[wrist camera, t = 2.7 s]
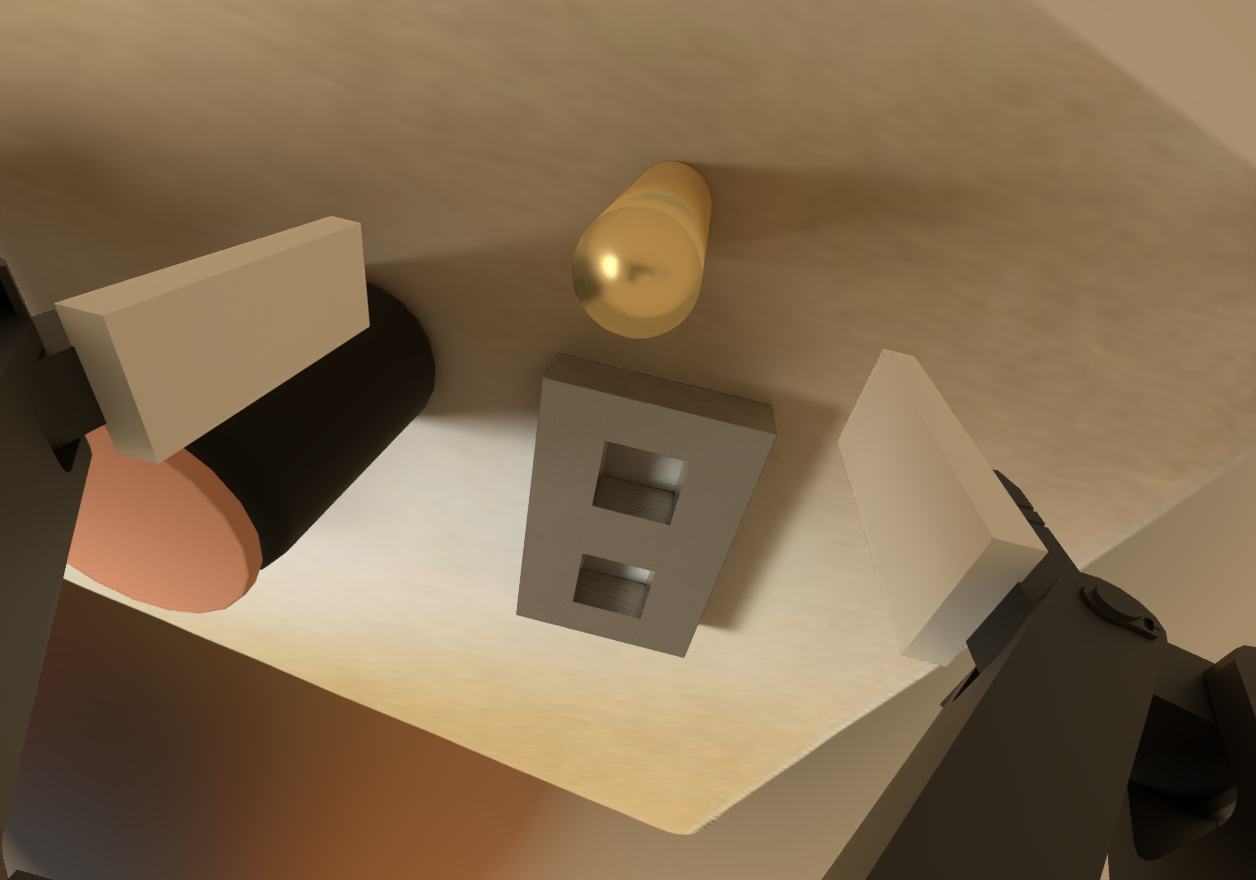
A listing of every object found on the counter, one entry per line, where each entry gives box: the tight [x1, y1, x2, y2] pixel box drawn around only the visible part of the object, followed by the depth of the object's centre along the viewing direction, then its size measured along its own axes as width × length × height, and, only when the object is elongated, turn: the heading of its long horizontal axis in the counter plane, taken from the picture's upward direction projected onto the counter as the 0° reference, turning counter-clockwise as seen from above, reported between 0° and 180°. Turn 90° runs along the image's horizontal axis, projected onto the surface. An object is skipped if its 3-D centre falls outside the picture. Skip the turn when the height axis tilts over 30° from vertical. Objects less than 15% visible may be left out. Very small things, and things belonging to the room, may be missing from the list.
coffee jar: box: [67, 282, 435, 613], centre depth 29 cm, size 11×11×18 cm
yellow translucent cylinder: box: [572, 161, 712, 339], centre depth 24 cm, size 4×4×13 cm
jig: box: [516, 354, 777, 658], centre depth 39 cm, size 14×22×4 cm, turn 169°
